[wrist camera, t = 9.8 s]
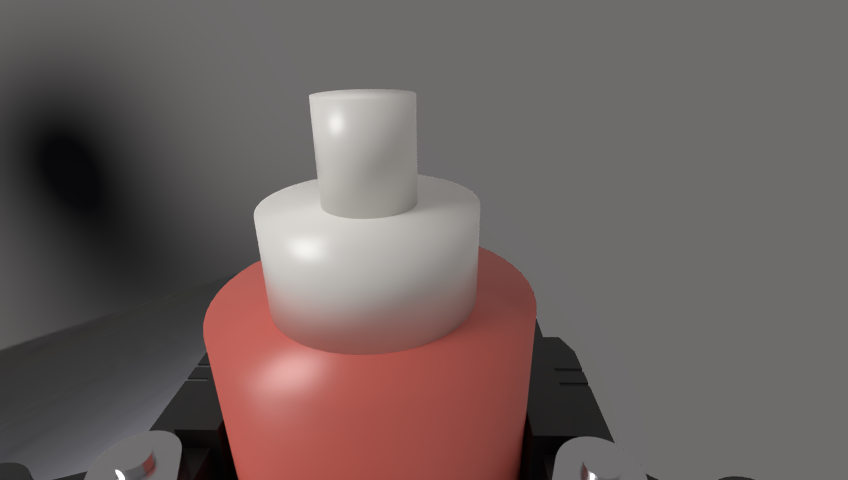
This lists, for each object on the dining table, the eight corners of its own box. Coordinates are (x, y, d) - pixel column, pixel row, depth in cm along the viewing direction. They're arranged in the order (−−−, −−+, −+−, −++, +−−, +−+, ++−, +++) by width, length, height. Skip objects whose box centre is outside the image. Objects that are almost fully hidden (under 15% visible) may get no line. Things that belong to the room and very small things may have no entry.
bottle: (266, 816, 9) (24, 128, 4) (322, 563, 14) (248, 80, 8) (510, 827, 9) (625, 125, 4) (486, 567, 14) (521, 78, 8)
